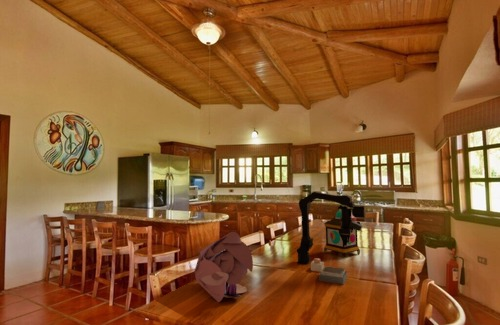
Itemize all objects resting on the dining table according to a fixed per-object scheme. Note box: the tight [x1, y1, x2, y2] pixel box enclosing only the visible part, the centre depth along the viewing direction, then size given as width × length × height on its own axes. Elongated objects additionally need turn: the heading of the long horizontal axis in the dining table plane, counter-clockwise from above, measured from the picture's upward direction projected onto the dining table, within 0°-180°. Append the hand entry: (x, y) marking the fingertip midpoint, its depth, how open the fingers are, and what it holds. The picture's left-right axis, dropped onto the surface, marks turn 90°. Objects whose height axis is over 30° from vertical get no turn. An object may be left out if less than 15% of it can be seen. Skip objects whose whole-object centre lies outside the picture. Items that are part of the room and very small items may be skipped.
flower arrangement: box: [193, 231, 254, 303], centre depth 129 cm, size 35×24×28 cm
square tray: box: [318, 265, 348, 286], centre depth 143 cm, size 12×12×4 cm
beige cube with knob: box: [310, 257, 325, 273], centre depth 159 cm, size 6×6×6 cm
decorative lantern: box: [323, 209, 361, 259], centre depth 195 cm, size 20×20×30 cm
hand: (346, 244), depth 161 cm, fingers open, 9 cm apart
